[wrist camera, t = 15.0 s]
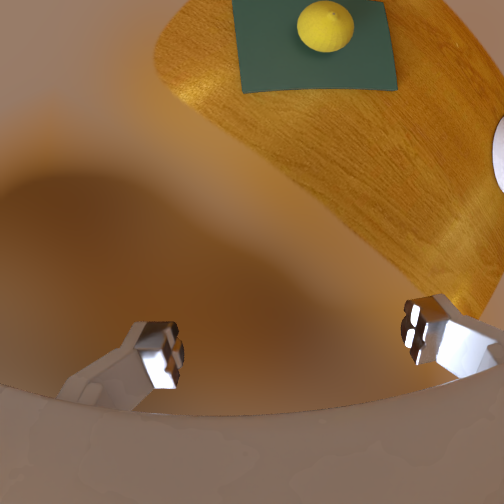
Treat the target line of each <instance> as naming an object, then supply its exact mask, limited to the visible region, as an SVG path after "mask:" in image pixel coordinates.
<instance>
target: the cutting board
mask: <svg viewBox="0 0 504 504" xmlns="http://www.w3.org/2000/svg"><path fill="white" fill-rule="evenodd" d="M318 1H332V2H335V3H338V4H340V5H341V6H343V7H344V8H345V9H346V10H348V12H349V13H350V15H351V16H352V19H353V22H354V32H353V36H352V38H351V39H350V41H349V43H348V44H346V45H345V46H344V47H343V48H341V49H339V50H337V51H333V52H320V51H316V50H314V49H312V48H310V47H308V46H307V45H306V44H305V43H304V42H303V41H302V40H301V38H300V36H299V34H298V29H297V22H298V18H299V16H300V14H301V12H302V11H303V10H304V9H305V8H306V7H307V6H309V5H310V4H312V3H315V2H318ZM232 5H233V14H234V22H235V31H236V40H237V48H238V57H239V66H240V75H241V83H242V92H243V94H245V93H255V92H266V91H280V90H298V89H366V90H385V91H395V90H398V87H397V79H396V71H395V63H394V56H393V50H392V44H391V38H390V32H389V27H388V22H387V17H386V12H385V8H384V4H383V2H377V1H370V0H232Z"/></svg>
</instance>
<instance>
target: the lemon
mask: <svg viewBox="0 0 504 504" xmlns="http://www.w3.org/2000/svg"><path fill="white" fill-rule="evenodd" d="M297 29H298V34H299V36H300V38H301V40H302V41H303V42H304V43H305V44H306V45H307V46H308V47H310V48H312V49H314V50H316V51H320V52H333V51H337V50H339V49H341V48H343V47H344V46H345V45H346V44H348V43H349V41H350V39H351V38H352V36H353V32H354V22H353V19H352V16H351V15H350V13H349V12H348V10H346V9H345V8H344V7H343V6H341V5H340V4H338V3H335V2H332V1H318V2H315V3H312V4H310V5H309V6H307V7H306V8H305V9H304V10H303V11H302V12H301V14H300V16H299V18H298V22H297Z"/></svg>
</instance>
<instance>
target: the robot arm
mask: <svg viewBox="0 0 504 504" xmlns="http://www.w3.org/2000/svg"><path fill="white" fill-rule="evenodd" d="M493 166H494V172H495V176H496V179H497V182H498V184H499V186H500V188H501V190H502V191H503V193H504V117H503V118H502V119H501V121H500V122H499V124H498V126H497V129H496V132H495V136H494V141H493ZM404 312H405V313H406V316H405V317H404V319H403V320H402V323H401V336H402V339H403V342H404V343H405V345H406V346H408V347H410V348H411V349H410V355H411V356H412V358H413V360H414V362H415V364H416V365H418V364H423V363H428V362H432V361H436V362H437V363H439V364H440V365H442V366H443V367H444V368H446V369H447V370H449V371H450V372H452V373H453V374H455V375H456V376H457V377H459V378H460V379H457V380H455V381H451V382H448V383H445V384H441V385H438V386H434V387H431V388H428V389H423V390H420V391H416V392H412V393H408V394H404V395H400V396H395V397H391V398H386V399H381V400H377V401H371V402H366V403H361V404H355V405H349V406H342V407H336V408H328V409H321V410H312V411H303V412H293V413H281V414H266V415H243V416H190V415H170V414H156V413H146V412H145V413H144V412H135V411H132V410H133V409H134V408H135V407H136V406H137V405H138V404H139V403H140V402H141V401H142V400H143V399H144V398H145V397H146V396H147V395H148V394H149V393H150V392H151V391H152V390H153V388H176V387H177V383H178V380H179V377H180V374H179V371H178V369H180V368H181V367H182V366H183V362H184V347H183V344H182V341H181V340H180V339H179V338H178V337H177V335H178V332H179V330H178V327H177V324H176V323H175V322H135V323H134V324H133V325H132V327H131V329H130V331H129V332H128V334H127V336H126V338H125V339H124V341H123V343H122V345H121V347H120V348H119V349H114V350H113V351H111V352H109V353H108V354H106V355H105V356H103V357H101V358H100V359H98V360H97V361H95V362H93V363H92V364H90V365H88V366H87V367H85V368H84V369H82V370H80V371H79V372H77V373H76V374H74V375H72V376H71V377H69V378H68V379H67V380H66V382H65V384H64V385H63V387H62V389H61V390H60V392H59V394H58V395H57V397H56V398H52V397H47V396H43V395H39V394H35V393H31V392H28V391H24V390H20V389H17V388H14V387H10V386H7V385H4V384H1V383H0V504H504V331H503V330H501V329H498V328H496V327H494V326H491V325H488V324H486V323H484V322H481V321H479V320H477V319H474V318H472V317H469V316H467V315H466V316H463V315H462V314H461V313H460V312H459V311H458V309H457V308H456V307H455V306H454V305H453V304H452V303H451V302H450V301H449V299H448V298H447V297H446V296H445V295H444V294H437V295H432V296H428V297H423V298H418V299H412V300H407V301H406V303H405V307H404Z"/></svg>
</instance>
